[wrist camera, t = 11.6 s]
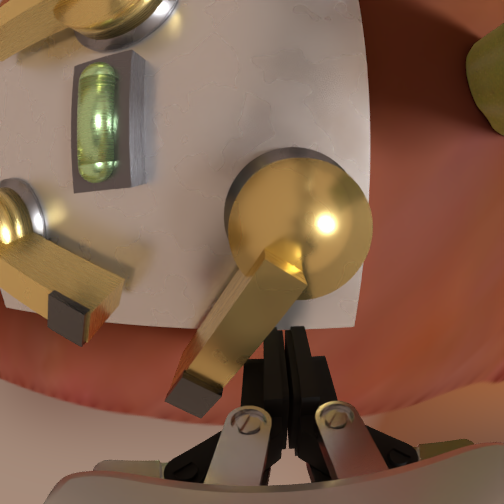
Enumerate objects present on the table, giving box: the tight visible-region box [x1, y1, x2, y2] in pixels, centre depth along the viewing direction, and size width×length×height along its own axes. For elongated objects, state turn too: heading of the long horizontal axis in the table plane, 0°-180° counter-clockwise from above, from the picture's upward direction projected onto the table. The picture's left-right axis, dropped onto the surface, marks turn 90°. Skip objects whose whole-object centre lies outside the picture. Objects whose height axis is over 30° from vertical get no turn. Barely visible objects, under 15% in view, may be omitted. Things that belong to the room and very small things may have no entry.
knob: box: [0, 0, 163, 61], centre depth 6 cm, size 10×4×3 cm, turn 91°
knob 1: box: [0, 187, 125, 347], centre depth 10 cm, size 10×4×3 cm, turn 67°
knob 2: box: [165, 158, 373, 418], centre depth 10 cm, size 10×4×3 cm, turn 147°
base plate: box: [0, 0, 370, 330], centre depth 10 cm, size 18×20×4 cm
